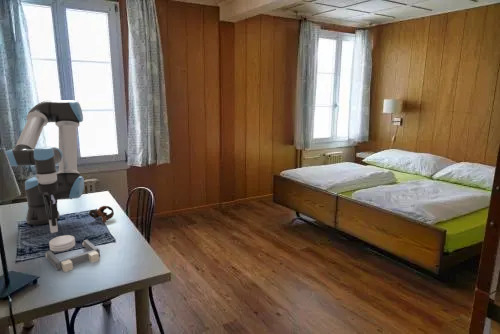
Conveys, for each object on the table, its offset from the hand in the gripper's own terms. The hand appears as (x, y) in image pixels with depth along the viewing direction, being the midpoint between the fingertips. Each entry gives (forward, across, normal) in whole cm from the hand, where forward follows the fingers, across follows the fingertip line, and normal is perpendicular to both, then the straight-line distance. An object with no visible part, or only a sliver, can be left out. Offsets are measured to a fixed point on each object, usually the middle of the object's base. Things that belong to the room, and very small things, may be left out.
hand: (54, 231), depth 154 cm
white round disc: (+5, +10, 0) cm, 11 cm away
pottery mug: (+4, -9, +25) cm, 27 cm away
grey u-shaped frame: (+4, +24, 0) cm, 24 cm away
